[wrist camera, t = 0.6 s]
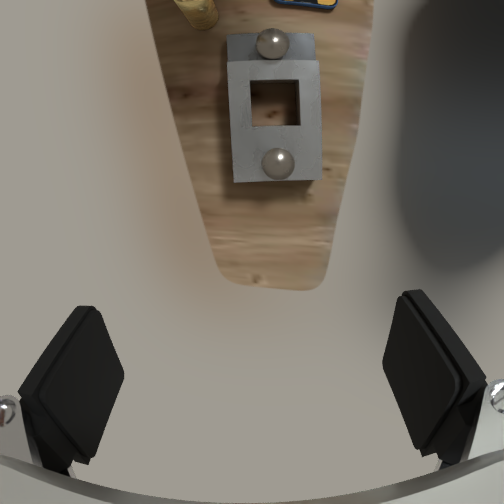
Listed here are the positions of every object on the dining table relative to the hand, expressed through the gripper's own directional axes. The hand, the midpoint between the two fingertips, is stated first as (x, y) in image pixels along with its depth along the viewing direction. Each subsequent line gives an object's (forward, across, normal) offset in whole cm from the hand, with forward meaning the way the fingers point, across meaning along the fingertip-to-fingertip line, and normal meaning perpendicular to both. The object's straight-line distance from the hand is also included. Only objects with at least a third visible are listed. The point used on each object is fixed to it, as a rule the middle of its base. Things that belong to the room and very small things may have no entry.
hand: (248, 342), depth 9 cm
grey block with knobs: (+27, -3, -8) cm, 28 cm away
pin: (+27, +4, -19) cm, 33 cm away
